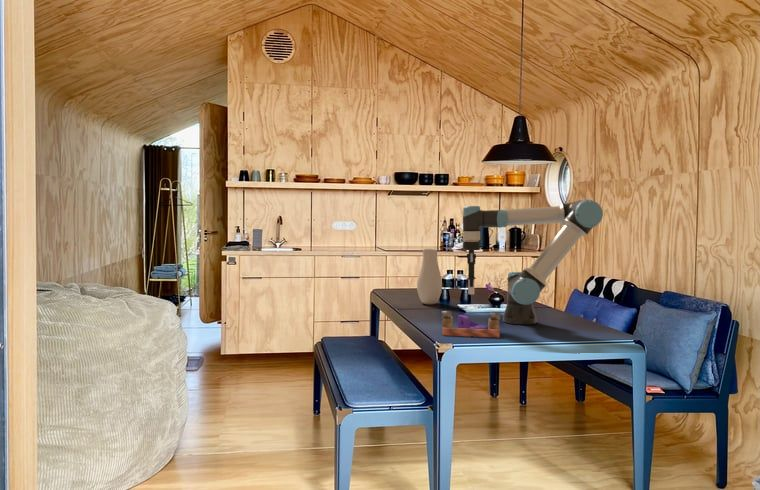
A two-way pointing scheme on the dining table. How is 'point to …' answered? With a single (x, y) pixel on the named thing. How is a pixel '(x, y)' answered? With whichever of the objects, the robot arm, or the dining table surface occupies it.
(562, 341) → the dining table surface
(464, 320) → the bracket
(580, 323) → the dining table surface
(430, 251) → the vase
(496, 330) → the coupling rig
